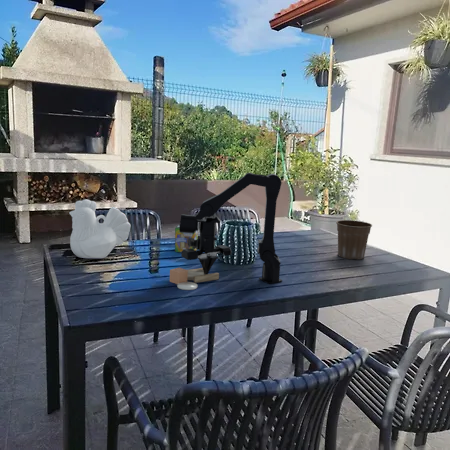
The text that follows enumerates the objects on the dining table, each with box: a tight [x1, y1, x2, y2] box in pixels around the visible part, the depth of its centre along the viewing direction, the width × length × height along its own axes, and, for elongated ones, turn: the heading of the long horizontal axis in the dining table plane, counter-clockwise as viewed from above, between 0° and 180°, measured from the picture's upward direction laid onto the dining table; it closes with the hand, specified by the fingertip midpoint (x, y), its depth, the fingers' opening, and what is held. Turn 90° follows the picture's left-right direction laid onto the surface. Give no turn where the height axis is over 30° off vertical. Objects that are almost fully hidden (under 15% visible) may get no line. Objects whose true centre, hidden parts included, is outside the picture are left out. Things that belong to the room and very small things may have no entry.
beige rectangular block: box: [187, 269, 205, 281], centre depth 158 cm, size 3×8×3 cm, turn 93°
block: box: [169, 267, 189, 285], centre depth 154 cm, size 4×4×4 cm
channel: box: [190, 267, 220, 284], centre depth 160 cm, size 9×10×2 cm
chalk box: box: [174, 225, 199, 253], centre depth 198 cm, size 9×9×15 cm
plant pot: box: [336, 219, 373, 260], centre depth 201 cm, size 16×16×16 cm
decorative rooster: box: [69, 198, 132, 259], centre depth 179 cm, size 25×16×25 cm, turn 109°
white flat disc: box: [176, 281, 198, 291], centre depth 149 cm, size 7×7×1 cm
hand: (206, 274), depth 161 cm, fingers closed
